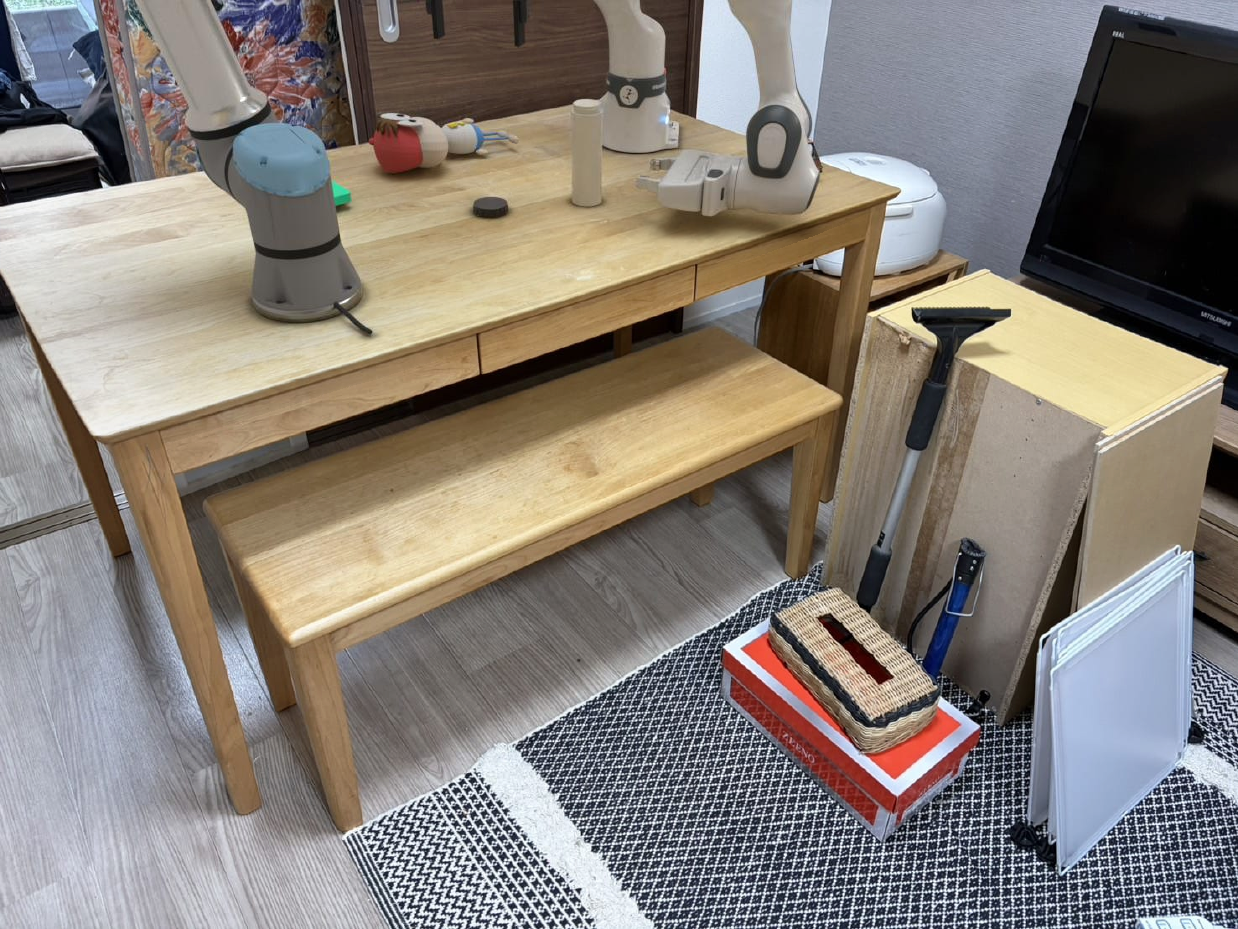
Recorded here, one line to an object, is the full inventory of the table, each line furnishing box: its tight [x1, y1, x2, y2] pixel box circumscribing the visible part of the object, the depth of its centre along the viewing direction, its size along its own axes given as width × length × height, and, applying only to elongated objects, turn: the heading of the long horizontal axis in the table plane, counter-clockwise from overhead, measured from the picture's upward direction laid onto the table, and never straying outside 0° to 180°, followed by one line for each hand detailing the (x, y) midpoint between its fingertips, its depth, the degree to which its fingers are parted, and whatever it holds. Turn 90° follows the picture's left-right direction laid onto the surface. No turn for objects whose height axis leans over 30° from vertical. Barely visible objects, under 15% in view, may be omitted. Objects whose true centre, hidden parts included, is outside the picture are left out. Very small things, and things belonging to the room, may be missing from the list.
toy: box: [368, 112, 520, 174], centre depth 181 cm, size 18×10×30 cm
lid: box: [472, 196, 509, 219], centre depth 163 cm, size 6×6×2 cm
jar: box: [570, 98, 603, 208], centre depth 163 cm, size 5×5×17 cm
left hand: (479, 41), depth 146 cm, fingers open, 13 cm apart
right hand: (644, 172), depth 162 cm, fingers open, 8 cm apart
